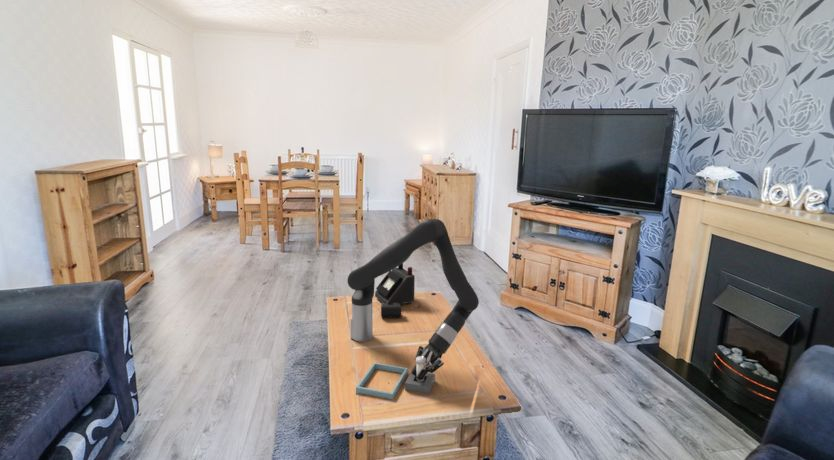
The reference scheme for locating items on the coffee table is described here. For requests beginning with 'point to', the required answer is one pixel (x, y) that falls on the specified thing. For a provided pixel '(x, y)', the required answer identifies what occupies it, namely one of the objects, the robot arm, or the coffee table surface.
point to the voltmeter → (397, 286)
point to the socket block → (420, 384)
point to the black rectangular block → (390, 310)
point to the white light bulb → (420, 366)
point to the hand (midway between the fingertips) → (415, 376)
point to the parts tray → (377, 392)
